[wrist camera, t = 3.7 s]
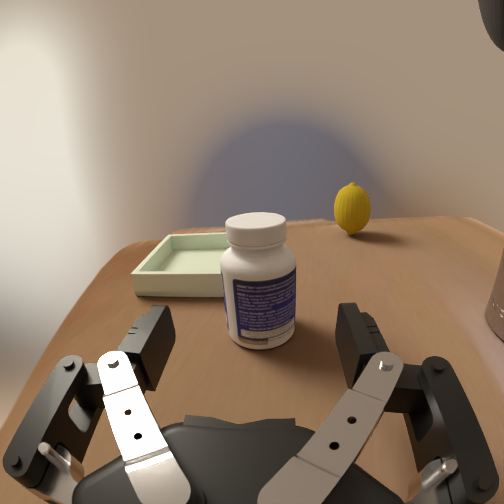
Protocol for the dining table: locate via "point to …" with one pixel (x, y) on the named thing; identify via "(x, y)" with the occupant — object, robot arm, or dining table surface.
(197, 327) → the dining table surface
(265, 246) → the pill bottle
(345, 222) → the lemon
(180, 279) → the tray
